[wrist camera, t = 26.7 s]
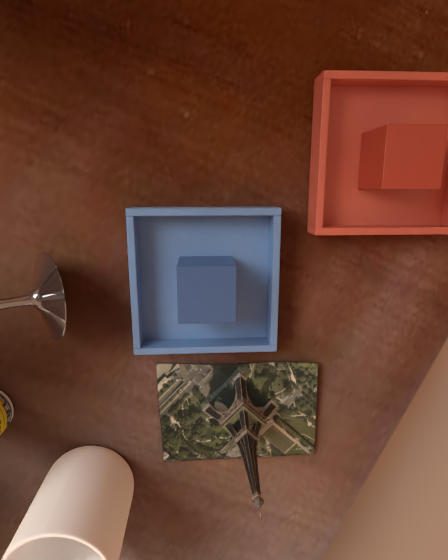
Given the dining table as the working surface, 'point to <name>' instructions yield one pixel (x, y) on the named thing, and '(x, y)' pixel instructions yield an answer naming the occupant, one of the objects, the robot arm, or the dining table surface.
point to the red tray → (347, 145)
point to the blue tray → (203, 242)
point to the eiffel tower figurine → (237, 412)
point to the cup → (77, 509)
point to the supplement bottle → (5, 411)
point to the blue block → (206, 289)
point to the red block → (402, 157)
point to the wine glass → (44, 297)
